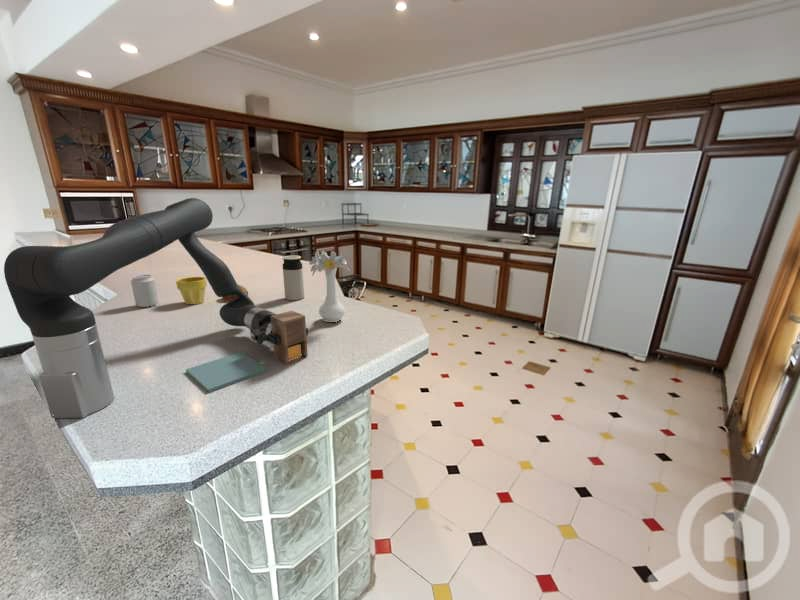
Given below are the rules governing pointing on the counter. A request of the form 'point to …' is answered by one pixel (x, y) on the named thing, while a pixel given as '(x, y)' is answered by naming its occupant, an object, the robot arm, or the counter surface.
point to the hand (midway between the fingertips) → (293, 336)
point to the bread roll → (232, 297)
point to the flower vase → (329, 284)
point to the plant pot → (192, 289)
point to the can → (144, 290)
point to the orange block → (294, 351)
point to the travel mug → (293, 278)
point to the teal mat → (225, 371)
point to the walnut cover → (289, 333)
